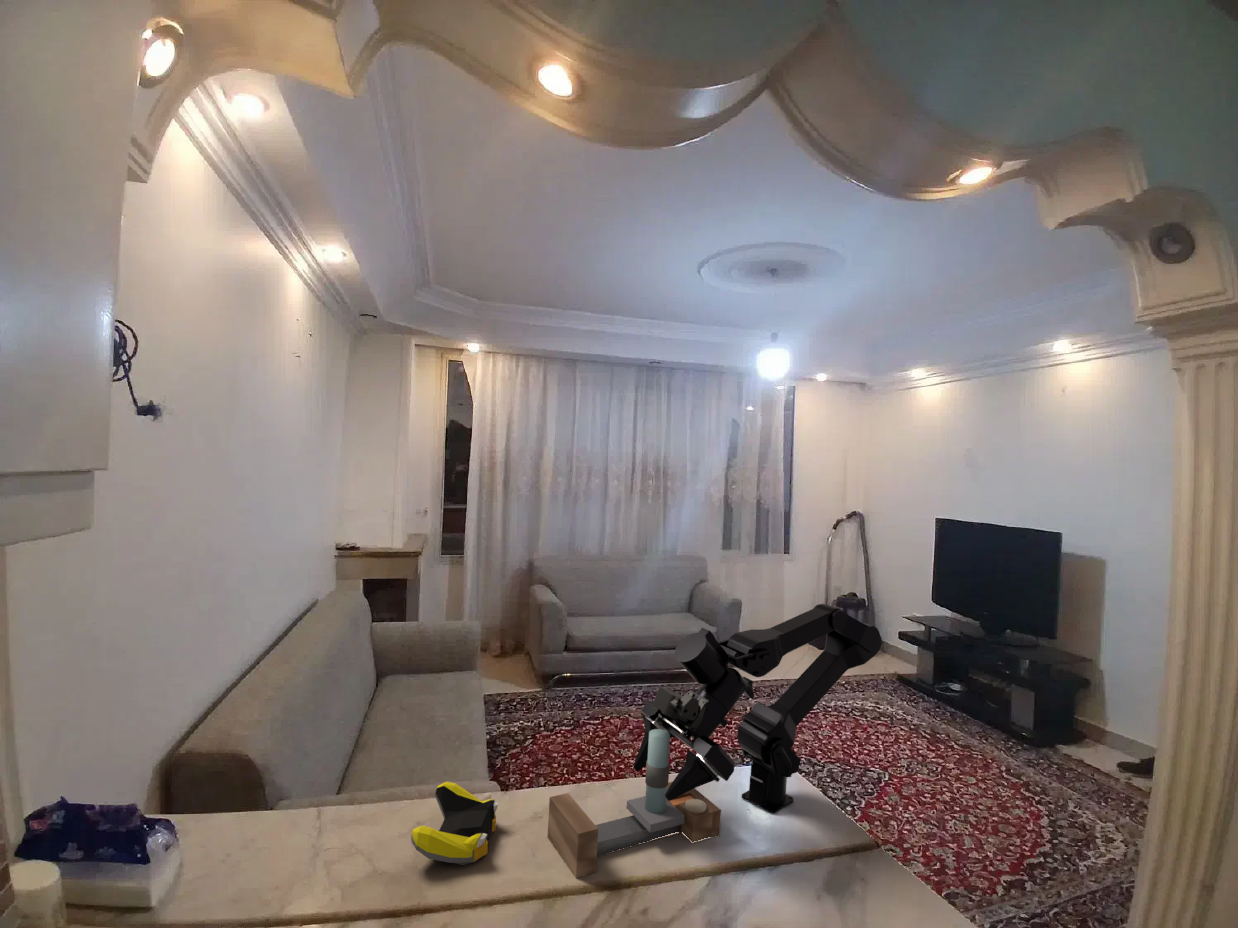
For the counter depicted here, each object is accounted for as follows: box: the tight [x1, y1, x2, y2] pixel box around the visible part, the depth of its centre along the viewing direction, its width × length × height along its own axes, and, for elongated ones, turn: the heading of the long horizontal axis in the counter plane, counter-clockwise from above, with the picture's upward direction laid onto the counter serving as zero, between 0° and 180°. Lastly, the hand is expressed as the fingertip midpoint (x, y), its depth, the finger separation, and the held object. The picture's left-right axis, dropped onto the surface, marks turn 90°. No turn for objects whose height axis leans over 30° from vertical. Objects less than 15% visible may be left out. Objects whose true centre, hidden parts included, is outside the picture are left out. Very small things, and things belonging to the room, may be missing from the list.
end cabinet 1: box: [547, 792, 598, 879], centre depth 91 cm, size 3×10×6 cm, turn 29°
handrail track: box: [595, 814, 681, 857], centre depth 96 cm, size 22×4×2 cm, turn 119°
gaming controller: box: [410, 781, 499, 866], centre depth 93 cm, size 15×6×10 cm
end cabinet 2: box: [667, 781, 722, 842], centre depth 101 cm, size 5×10×4 cm, turn 29°
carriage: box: [626, 729, 685, 833], centre depth 98 cm, size 6×7×13 cm
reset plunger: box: [669, 796, 694, 809], centre depth 100 cm, size 4×1×1 cm, turn 119°
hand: (650, 783), depth 97 cm, fingers open, 9 cm apart
